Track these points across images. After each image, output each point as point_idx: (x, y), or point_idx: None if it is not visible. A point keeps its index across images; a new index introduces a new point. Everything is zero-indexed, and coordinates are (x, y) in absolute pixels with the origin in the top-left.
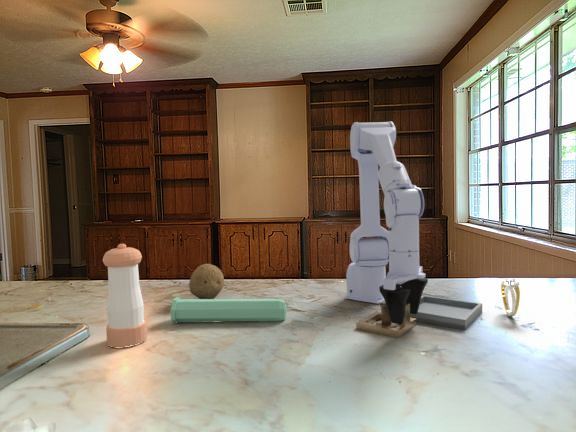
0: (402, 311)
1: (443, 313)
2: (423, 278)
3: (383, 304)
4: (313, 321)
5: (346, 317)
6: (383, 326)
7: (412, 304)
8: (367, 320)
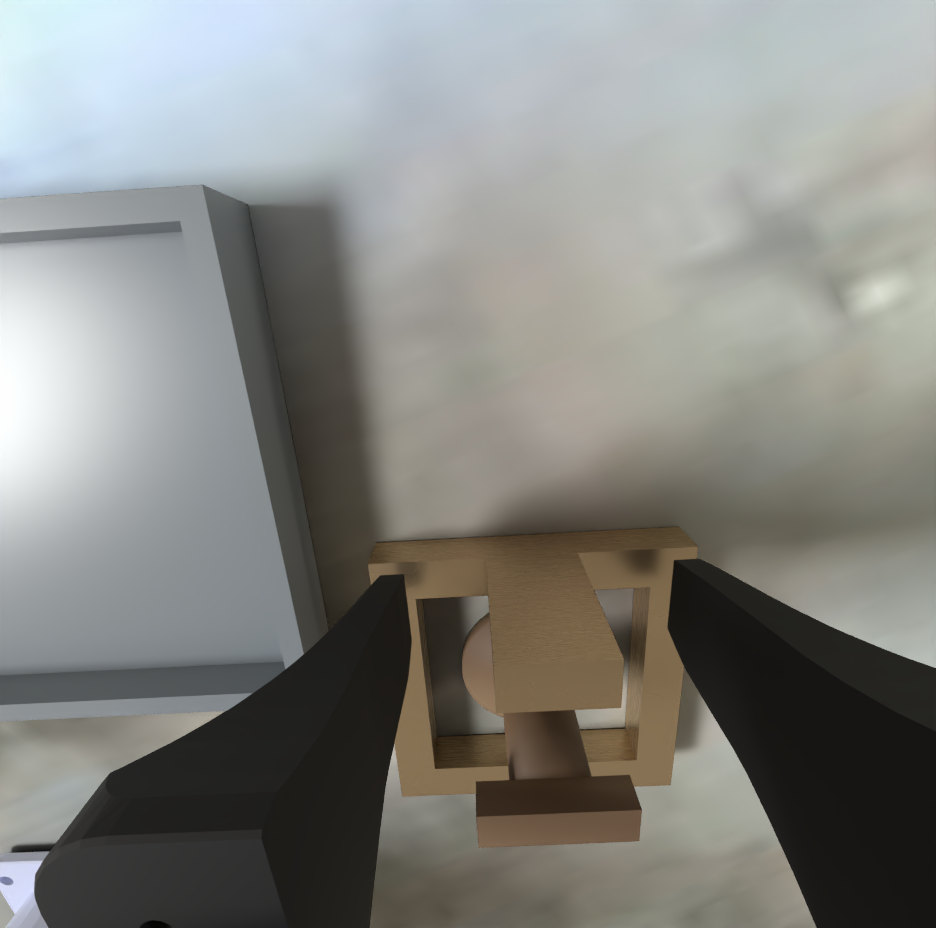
0: (799, 612)
1: (77, 466)
2: (92, 907)
3: (638, 805)
4: (663, 920)
5: (517, 854)
6: (652, 652)
7: (392, 653)
8: (594, 760)
